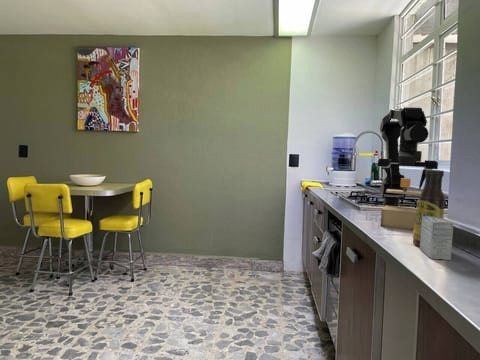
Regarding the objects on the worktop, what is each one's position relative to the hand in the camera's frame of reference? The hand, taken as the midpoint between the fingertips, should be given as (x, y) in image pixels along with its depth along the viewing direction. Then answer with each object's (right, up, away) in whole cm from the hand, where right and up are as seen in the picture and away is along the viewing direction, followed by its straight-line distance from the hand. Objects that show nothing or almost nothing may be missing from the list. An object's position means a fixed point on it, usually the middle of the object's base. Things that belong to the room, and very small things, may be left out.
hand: (405, 188), depth 122 cm
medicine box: (-12, -15, -40) cm, 45 cm away
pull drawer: (0, -2, 0) cm, 2 cm away
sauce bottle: (-10, -14, -32) cm, 37 cm away
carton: (-4, -12, -5) cm, 14 cm away
